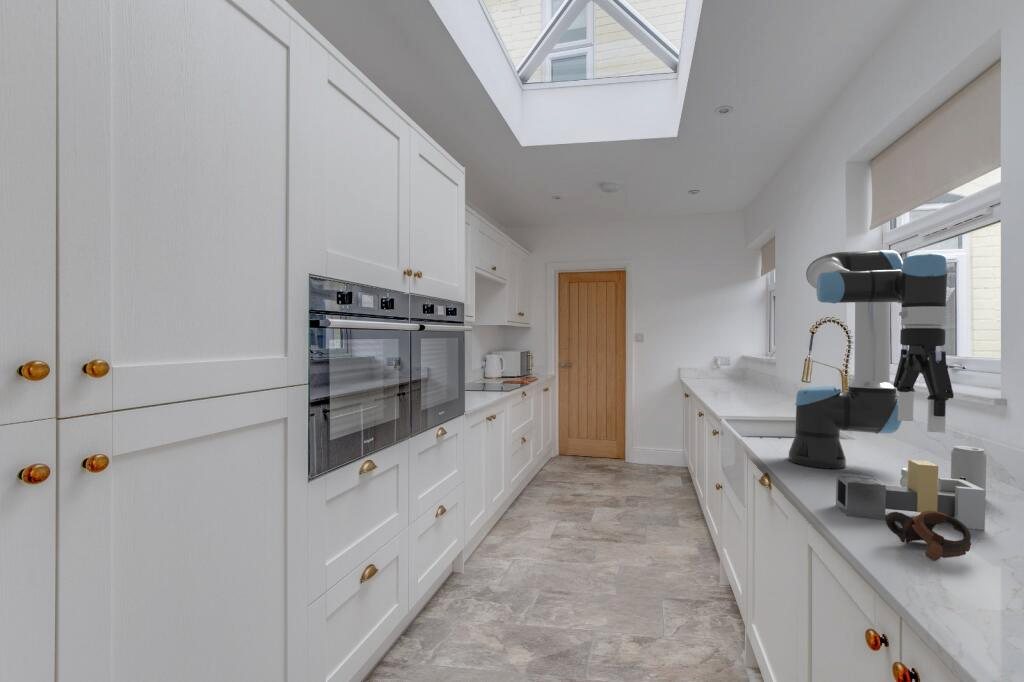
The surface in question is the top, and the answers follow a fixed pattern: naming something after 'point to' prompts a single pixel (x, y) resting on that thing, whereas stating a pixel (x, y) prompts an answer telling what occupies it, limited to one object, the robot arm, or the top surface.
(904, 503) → the two-tone stepped block
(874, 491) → the gray block
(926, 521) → the rusty metal ring bracket
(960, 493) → the socket
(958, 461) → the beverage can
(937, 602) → the top surface
